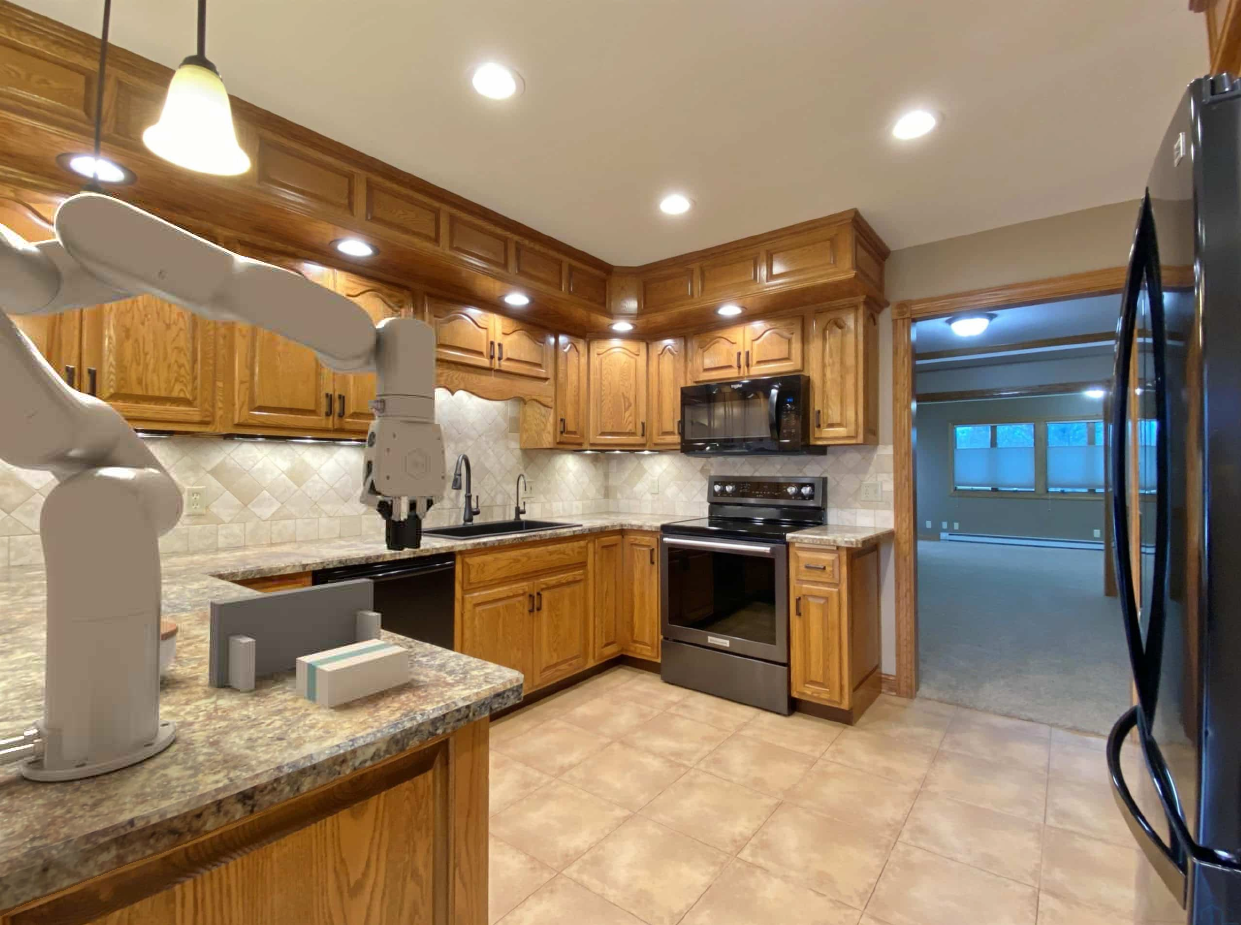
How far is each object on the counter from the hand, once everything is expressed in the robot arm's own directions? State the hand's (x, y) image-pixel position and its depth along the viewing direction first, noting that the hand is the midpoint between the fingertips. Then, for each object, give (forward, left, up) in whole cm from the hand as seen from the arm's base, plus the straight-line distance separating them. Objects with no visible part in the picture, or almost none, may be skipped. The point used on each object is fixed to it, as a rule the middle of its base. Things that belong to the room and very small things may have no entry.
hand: (403, 548), depth 77 cm
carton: (0, +12, -21) cm, 24 cm away
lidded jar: (-19, +39, -21) cm, 48 cm away
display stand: (0, +26, -21) cm, 34 cm away
